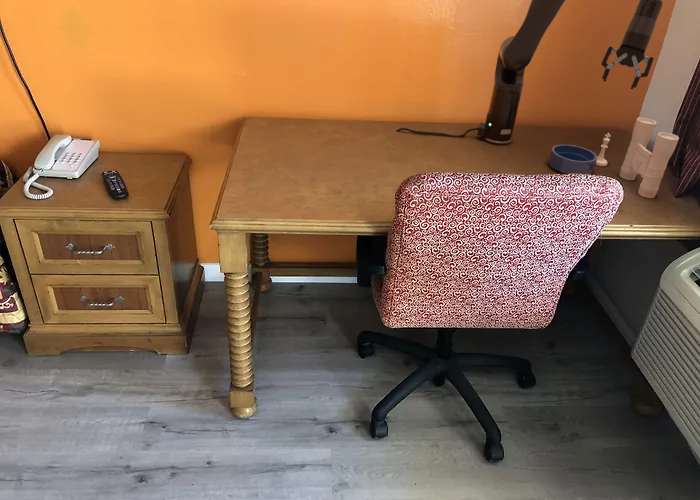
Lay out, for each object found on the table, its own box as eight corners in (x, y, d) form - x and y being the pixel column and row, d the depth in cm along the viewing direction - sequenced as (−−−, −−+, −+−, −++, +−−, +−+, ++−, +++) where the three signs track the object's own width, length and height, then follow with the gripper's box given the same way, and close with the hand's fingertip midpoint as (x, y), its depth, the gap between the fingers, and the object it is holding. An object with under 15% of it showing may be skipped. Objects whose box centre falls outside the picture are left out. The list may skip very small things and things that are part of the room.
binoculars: (614, 172, 187) (633, 116, 177) (631, 173, 187) (650, 117, 178) (642, 198, 172) (664, 139, 163) (660, 199, 173) (683, 140, 163)
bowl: (547, 172, 183) (551, 156, 181) (548, 156, 194) (552, 141, 192) (593, 180, 180) (598, 165, 178) (591, 164, 191) (596, 149, 189)
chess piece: (608, 166, 190) (618, 137, 185) (592, 164, 191) (601, 134, 186) (605, 160, 194) (615, 131, 189) (590, 158, 195) (599, 129, 190)
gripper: (615, 25, 185) (595, 78, 191) (663, 37, 181) (641, 91, 187) (615, 28, 192) (595, 79, 198) (662, 39, 188) (640, 91, 193)
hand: (617, 85), depth 192 cm, fingers open, 8 cm apart
